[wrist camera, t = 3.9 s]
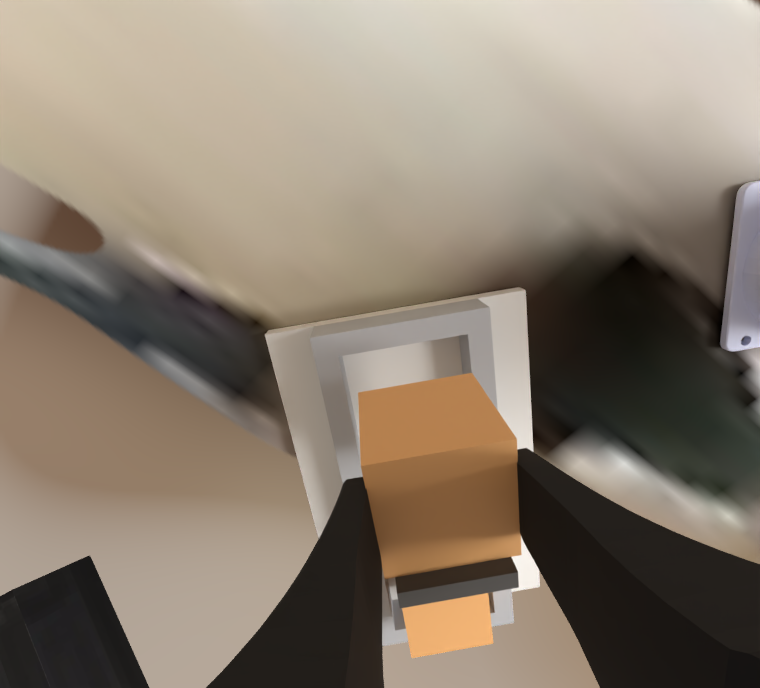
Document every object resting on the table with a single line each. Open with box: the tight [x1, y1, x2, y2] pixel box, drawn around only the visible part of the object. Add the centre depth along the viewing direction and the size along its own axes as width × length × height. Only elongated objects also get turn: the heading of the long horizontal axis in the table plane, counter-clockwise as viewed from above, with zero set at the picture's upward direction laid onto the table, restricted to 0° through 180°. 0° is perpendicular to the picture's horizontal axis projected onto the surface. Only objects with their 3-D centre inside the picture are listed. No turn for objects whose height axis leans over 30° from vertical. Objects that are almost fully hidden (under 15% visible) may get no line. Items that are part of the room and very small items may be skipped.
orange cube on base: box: [358, 373, 522, 608], centre depth 13 cm, size 4×5×4 cm
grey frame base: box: [265, 287, 540, 658], centre depth 19 cm, size 12×18×5 cm, turn 9°
